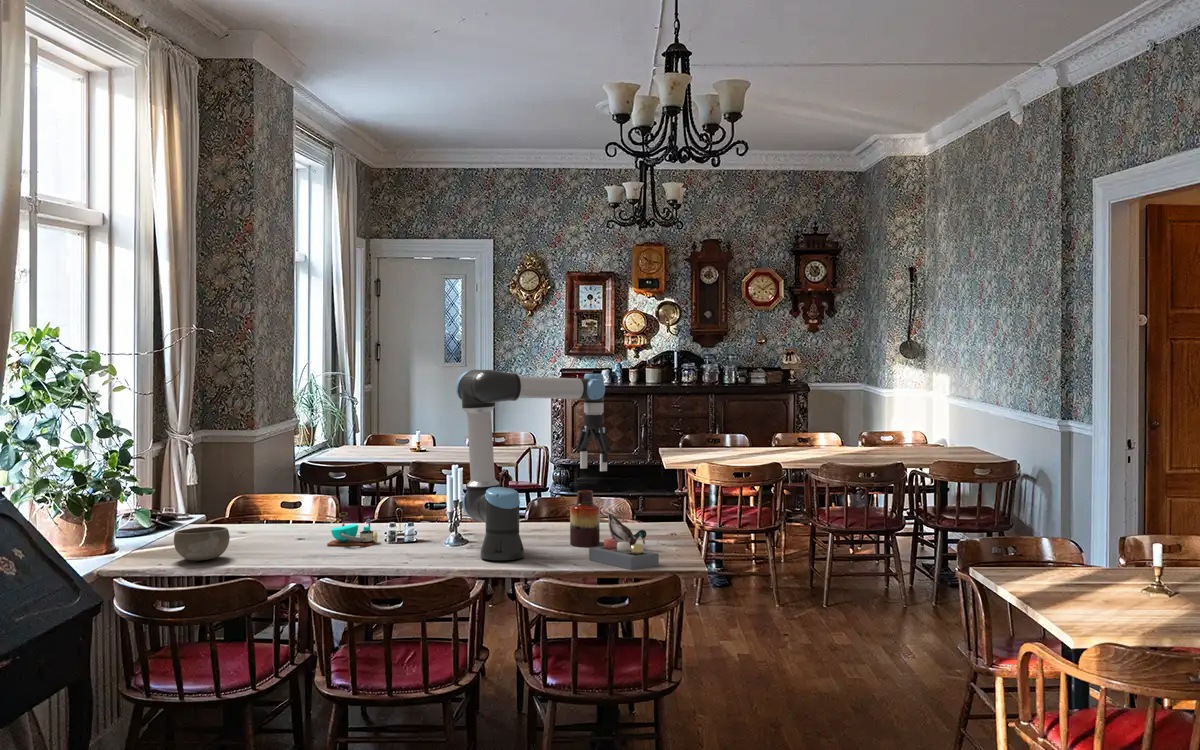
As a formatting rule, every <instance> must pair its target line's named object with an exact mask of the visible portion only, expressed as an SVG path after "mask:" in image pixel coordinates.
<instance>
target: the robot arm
mask: <svg viewBox="0 0 1200 750" xmlns="http://www.w3.org/2000/svg"><path fill="white" fill-rule="evenodd" d="M455 391H456V394H457V397H458V398H459V399H460V400H461V407H462V408H461V409H462V410H463V411H464V412H465V414H466V419H467V421H466V422H467V434H468V436H467V437H468V439H467V440H468V441H467V442H468V454H469V455H468V456H469V457H468V459H469V472H470V481H469V482H468V483H467V484H466V492H465V494H464V495H463V497H462V508H463V511H464V512H465V514H466V515H467V516H468V517H469V518H470V519H472V520H474V521H477V522H480V523H481V522H482V523H485V536H484V539H483V542H482V545H481V548H480V558H481V559H483V560H487V561H489V560H490V561H511V560H512V561H513V560H519V559H522V558H524V557H525V548H524V544H523V542H522V539H521V535H520V505H521V500H520V494H519V492H518V491H517V490H515V488H511V487H504V486H500V482H499V480H497V479H496V475H495V474H496V473H495V461H494V460H495V458H494V439H493V425H492V424H493V423H492V411H493V410H494V408H495V407H496V403H499V402H509V401H510V402H511V401H513V402H516V401H518V400H519V399H554V400H555V399H556V400H557V399H559V400H560V399H562V400H563V399H565V400H583V413H584V415H583V424H584V425H581V427H580V435H579V437H578V442H577V445H576V449H577V450H578V452H579V459H580V465H579V466H580V467H579V468H580V469H583V470H584V469H588V447H589V445H590V443H591V442H592V440H595V441H596V444H597V446H598V448H599V451H600V453H599V472H608V454H609V453H612V448H611V444H610V440H609V438H608V437H609V436H608V433H607V432H608V431H607V427H606V426H604V427H602V425H604V423H605V420H604V419H605V416H604V400H605V393H606V385H605V378H604V375H603V374H601V373H585V374H584V376H583V378H577V377H576V378H575V377H573V378H572V377H552V376H551V377H548V376H545V377H544V376H524V375H523V376H520V375H519V374H518V373H515V372H514V373H513V372H505V371H501V370H500V371H498V370H493V369H470V370H466V371H465V372H464V373H463V372H462V374H461V375H460V376H459V377H458V379H457V381H456V384H455Z"/></svg>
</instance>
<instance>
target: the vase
mask: <svg viewBox="0 0 1200 750" xmlns="http://www.w3.org/2000/svg"><path fill="white" fill-rule="evenodd" d="M600 509H601V508H600V506H599V505H598V504H596V503H594V495H593V490H588V489H587V490H586V489H583V490H582V489H581V490H578V491H577V494H576V503H574V504H573V505H571V506H570V507H569V513H570V514H569V516H570V517H569V523H570V524H569V525H570V527H569V531H570V532H569V541H570V546H571V545H572V547H575V548H576V547H577V548H595V547H599V546H600V543H601V542H600V538H601V535H600V532H601V531H600V529H601V528H600V523H601V522H600V520H601V519H600V518H601V517H600V515H601V513H600V512H601V511H600Z"/></svg>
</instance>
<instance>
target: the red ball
mask: <svg viewBox="0 0 1200 750" xmlns="http://www.w3.org/2000/svg"><path fill="white" fill-rule="evenodd" d="M616 543H617V542H616V540H615V539H612V538H607V539H606V538H605V539H604V540H603V546H604V549H607V550H613V549H616V545H617V544H616Z"/></svg>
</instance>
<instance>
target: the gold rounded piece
mask: <svg viewBox="0 0 1200 750" xmlns="http://www.w3.org/2000/svg"><path fill="white" fill-rule="evenodd" d="M643 550H644V544H636V543H635V545H631V555H635V556H638V555H643Z"/></svg>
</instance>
